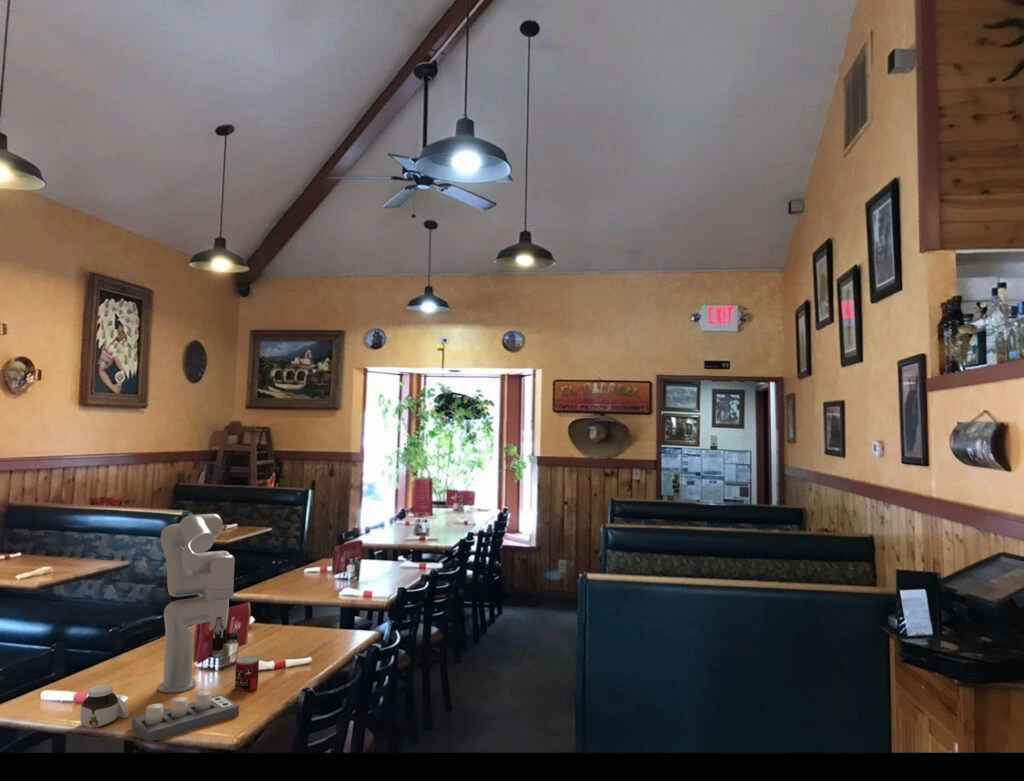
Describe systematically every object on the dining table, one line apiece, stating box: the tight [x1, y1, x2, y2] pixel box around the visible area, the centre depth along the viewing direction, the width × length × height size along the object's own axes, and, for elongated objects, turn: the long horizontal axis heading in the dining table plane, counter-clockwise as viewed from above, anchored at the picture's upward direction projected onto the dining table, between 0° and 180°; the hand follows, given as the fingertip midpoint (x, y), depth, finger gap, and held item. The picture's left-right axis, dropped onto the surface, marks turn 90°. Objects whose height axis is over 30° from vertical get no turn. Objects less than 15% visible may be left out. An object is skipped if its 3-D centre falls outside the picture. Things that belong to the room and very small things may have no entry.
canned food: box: [234, 655, 260, 693], centre depth 246 cm, size 8×8×11 cm
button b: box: [170, 696, 189, 719], centre depth 214 cm, size 5×5×5 cm
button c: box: [145, 703, 164, 726], centre depth 208 cm, size 5×5×5 cm
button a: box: [194, 690, 212, 712], centre depth 219 cm, size 5×5×5 cm
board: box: [131, 693, 240, 744], centre depth 215 cm, size 14×28×4 cm, turn 137°
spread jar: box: [79, 684, 130, 729], centre depth 216 cm, size 12×11×12 cm
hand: (218, 645), depth 219 cm, fingers open, 9 cm apart
